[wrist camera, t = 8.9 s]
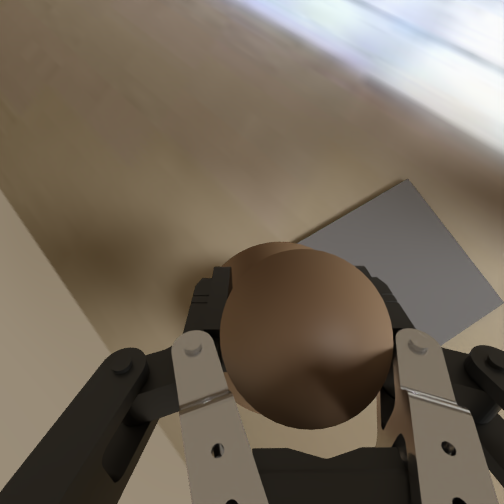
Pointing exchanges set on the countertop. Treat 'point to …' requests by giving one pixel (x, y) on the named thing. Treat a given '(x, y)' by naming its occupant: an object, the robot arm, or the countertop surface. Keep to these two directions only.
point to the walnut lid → (303, 336)
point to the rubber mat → (412, 260)
